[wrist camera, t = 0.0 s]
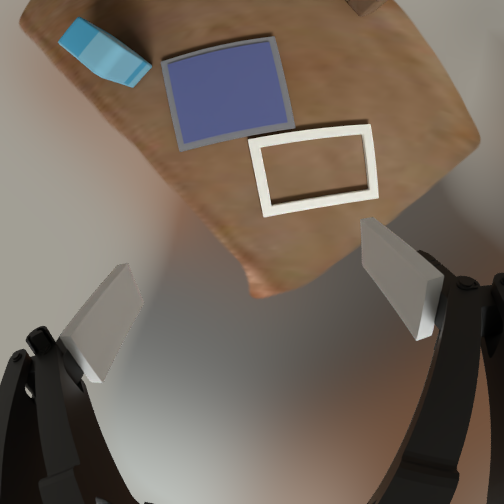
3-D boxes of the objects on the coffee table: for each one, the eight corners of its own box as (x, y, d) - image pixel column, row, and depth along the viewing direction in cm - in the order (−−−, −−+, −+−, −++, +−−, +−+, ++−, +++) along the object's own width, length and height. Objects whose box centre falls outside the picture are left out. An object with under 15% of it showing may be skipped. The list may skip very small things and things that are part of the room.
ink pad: (163, 63, 32) (160, 61, 31) (273, 38, 31) (274, 35, 29) (181, 151, 38) (179, 152, 37) (294, 128, 37) (295, 128, 35)
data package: (155, 68, 32) (123, 47, 21) (136, 89, 34) (98, 77, 23) (112, 35, 29) (75, 14, 18) (94, 55, 30) (54, 40, 19)
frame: (247, 139, 38) (247, 139, 37) (368, 124, 36) (370, 124, 35) (263, 215, 42) (263, 217, 42) (376, 196, 41) (378, 198, 40)
